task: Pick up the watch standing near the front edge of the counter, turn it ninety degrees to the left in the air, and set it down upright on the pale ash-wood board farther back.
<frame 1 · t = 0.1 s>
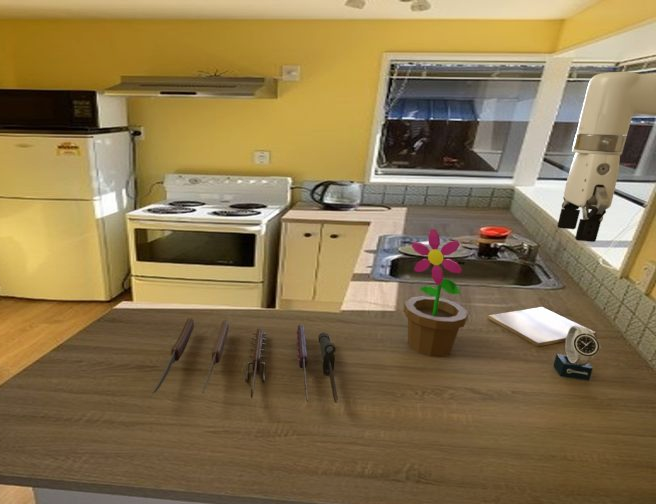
hand: (574, 234, 84), 32 cm above the worktop, tool pointing down, fingers open, 9 cm apart
board: (539, 326, 115), on the worktop
knife set: (252, 374, 91), on the worktop
watch: (570, 374, 94), on the worktop
flowerpot: (429, 346, 104), on the worktop
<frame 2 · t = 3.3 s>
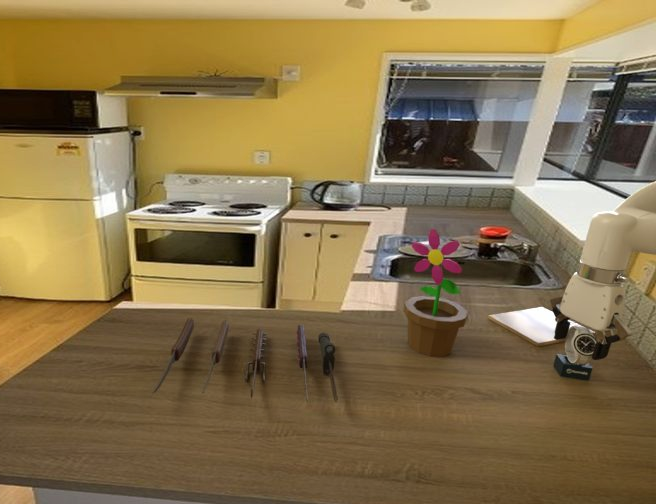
hand: (578, 347, 92), 6 cm above the worktop, tool pointing down, fingers closed on watch, 8 cm apart
watch: (570, 374, 94), on the worktop, touching gripper
everything else where it was.
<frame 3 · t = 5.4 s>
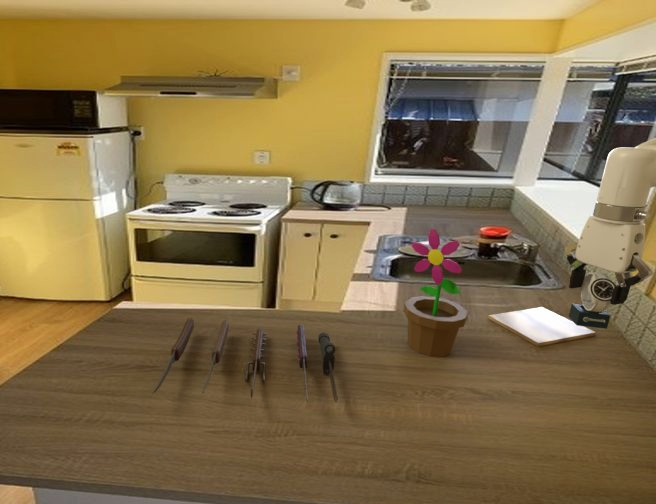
hand: (595, 294, 88), 19 cm above the worktop, tool pointing down, fingers closed on watch, 8 cm apart
watch: (587, 323, 90), point 12 cm above the worktop, touching gripper
everything else where it was.
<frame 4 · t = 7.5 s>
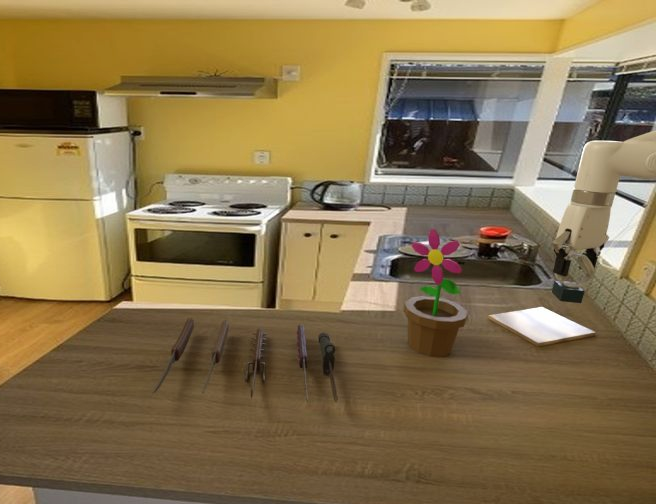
hand: (573, 272, 99), 20 cm above the worktop, tool pointing down, fingers closed on watch, 8 cm apart
watch: (566, 298, 101), point 13 cm above the worktop, touching gripper
everything else where it was.
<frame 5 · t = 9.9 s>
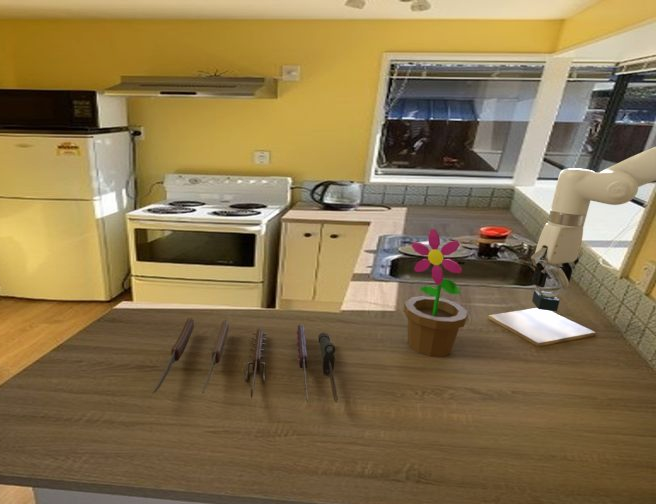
hand: (550, 283, 111), 13 cm above the worktop, tool pointing down, fingers closed on watch, 8 cm apart
watch: (544, 306, 114), point 6 cm above the worktop, touching gripper
everything else where it was.
when the fingers open (7 cm above the worktop, at t = 11.8 s): watch stays where it is, resting on board.
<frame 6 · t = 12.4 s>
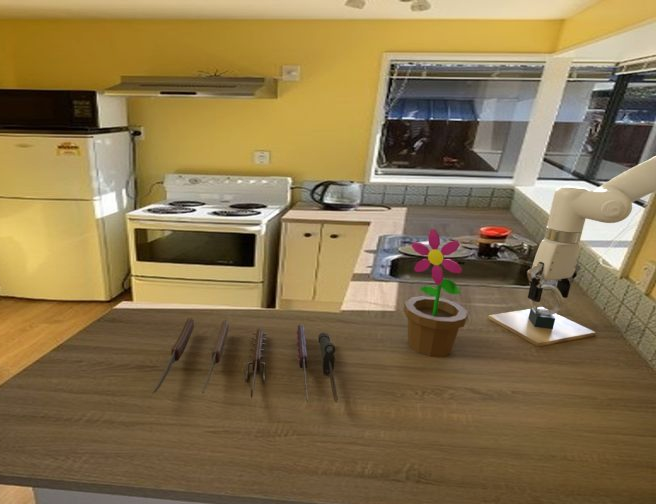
hand: (547, 297, 113), 9 cm above the worktop, tool pointing down, fingers open, 9 cm apart
watch: (540, 324, 115), point 1 cm above the worktop, touching board
everything else where it was.
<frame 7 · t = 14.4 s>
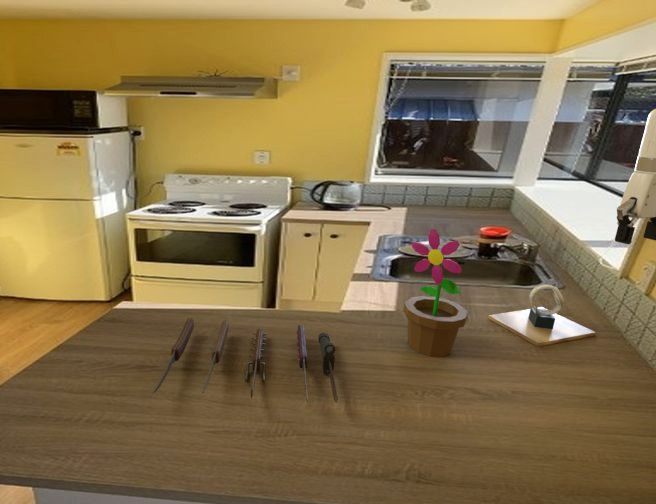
hand: (637, 240, 99), 27 cm above the worktop, tool pointing down, fingers open, 9 cm apart
nothing on the worktop moved.
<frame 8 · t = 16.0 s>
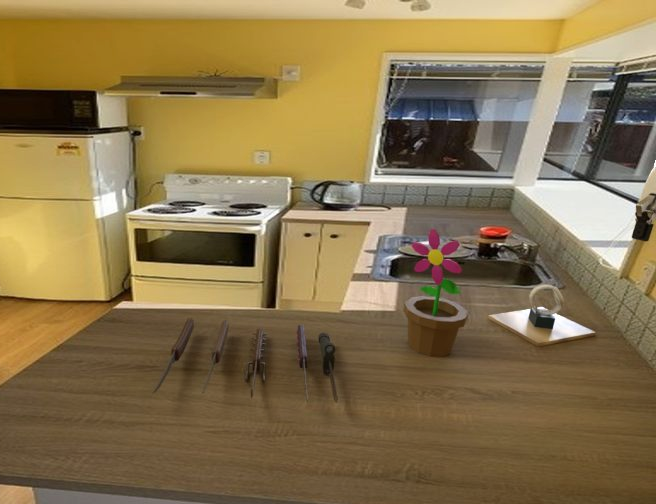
hand: (654, 238, 97), 28 cm above the worktop, tool pointing down, fingers open, 9 cm apart
nothing on the worktop moved.
at the end: watch inside the target area on the board (0.0 cm from its centre), point 0.8 cm above the board's base; watch tilted 0°; the gripper is holding nothing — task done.
